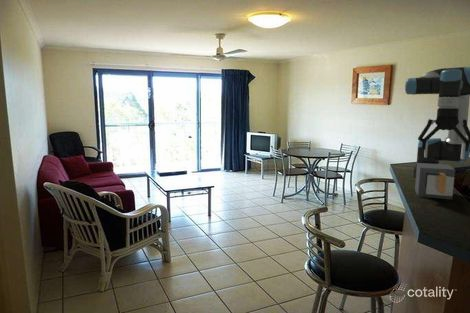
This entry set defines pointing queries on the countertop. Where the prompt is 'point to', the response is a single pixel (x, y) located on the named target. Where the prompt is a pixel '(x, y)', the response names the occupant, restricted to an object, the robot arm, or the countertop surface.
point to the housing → (432, 169)
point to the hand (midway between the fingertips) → (443, 158)
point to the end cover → (439, 184)
